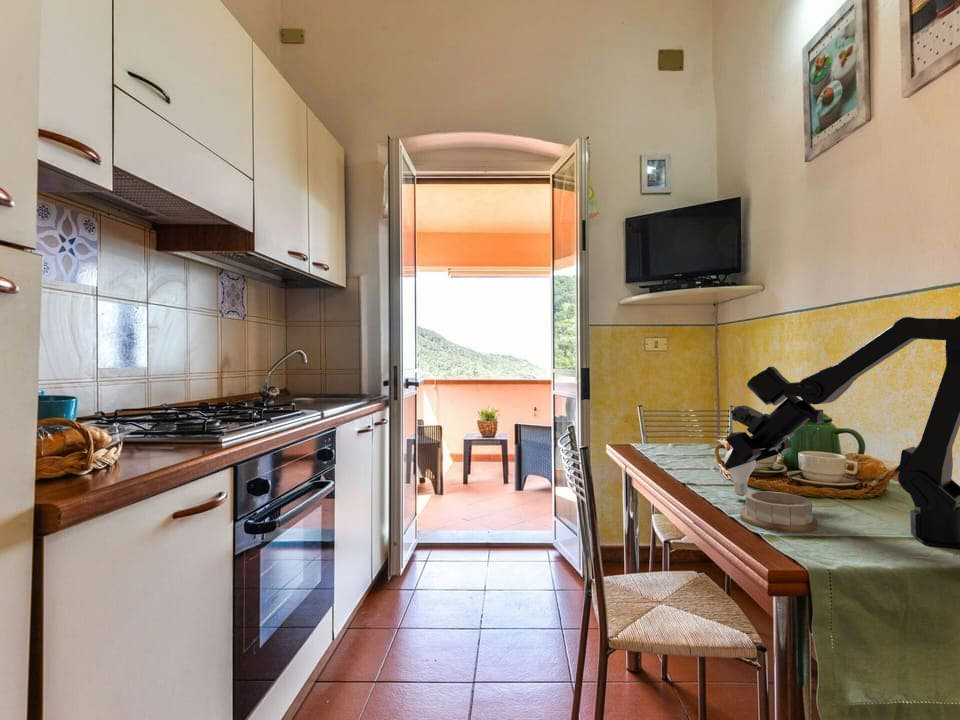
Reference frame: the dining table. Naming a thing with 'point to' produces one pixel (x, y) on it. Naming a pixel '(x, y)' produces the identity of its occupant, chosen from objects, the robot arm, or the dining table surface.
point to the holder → (779, 512)
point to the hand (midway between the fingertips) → (734, 465)
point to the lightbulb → (740, 475)
